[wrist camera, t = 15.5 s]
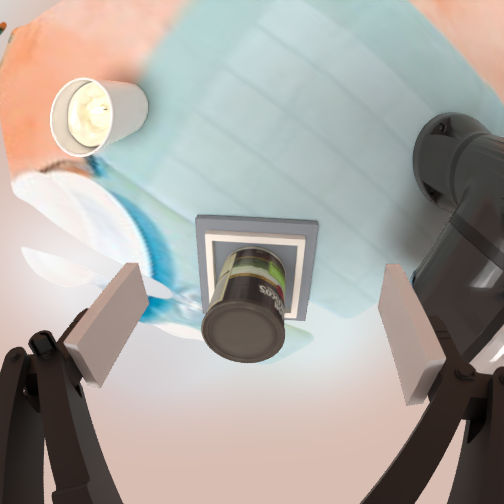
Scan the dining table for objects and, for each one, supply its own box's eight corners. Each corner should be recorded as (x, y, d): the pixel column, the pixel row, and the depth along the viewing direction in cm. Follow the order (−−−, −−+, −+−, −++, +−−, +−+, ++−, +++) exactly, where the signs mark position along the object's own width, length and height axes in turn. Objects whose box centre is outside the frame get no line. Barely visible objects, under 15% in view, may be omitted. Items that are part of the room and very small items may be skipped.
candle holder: (147, 69, 37) (104, 65, 26) (159, 131, 41) (120, 146, 31) (93, 89, 38) (44, 94, 28) (105, 146, 43) (59, 165, 32)
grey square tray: (317, 221, 46) (318, 229, 43) (304, 315, 54) (305, 326, 52) (197, 215, 47) (192, 222, 44) (204, 308, 56) (201, 318, 53)
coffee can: (267, 234, 46) (260, 290, 33) (296, 287, 50) (298, 350, 37) (209, 261, 49) (184, 318, 37) (241, 308, 53) (228, 370, 40)
